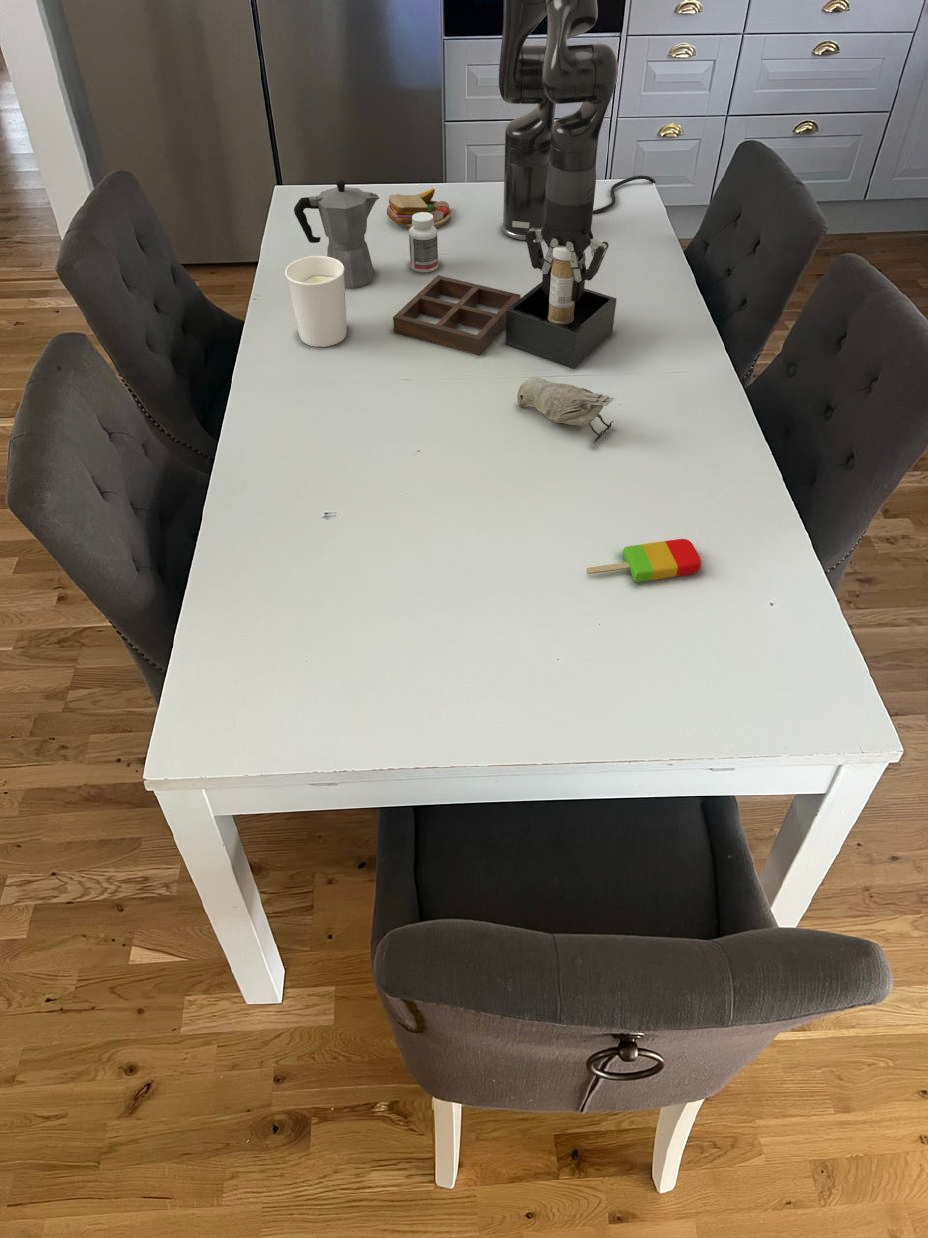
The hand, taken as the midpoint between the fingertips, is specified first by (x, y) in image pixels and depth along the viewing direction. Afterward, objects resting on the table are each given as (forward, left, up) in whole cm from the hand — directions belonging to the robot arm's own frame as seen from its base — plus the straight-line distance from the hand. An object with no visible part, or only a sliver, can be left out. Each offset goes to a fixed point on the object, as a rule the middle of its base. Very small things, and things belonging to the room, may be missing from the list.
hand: (562, 295), depth 154 cm
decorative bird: (+21, +13, -8) cm, 26 cm away
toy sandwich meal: (-24, -48, -8) cm, 54 cm away
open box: (0, 0, -8) cm, 8 cm away
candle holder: (+22, -35, -8) cm, 42 cm away
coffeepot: (+4, -45, -8) cm, 46 cm away
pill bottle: (-8, -35, -8) cm, 37 cm away
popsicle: (+43, +38, -8) cm, 58 cm away
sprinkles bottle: (0, 0, -4) cm, 4 cm away
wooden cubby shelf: (+5, -18, -8) cm, 20 cm away
